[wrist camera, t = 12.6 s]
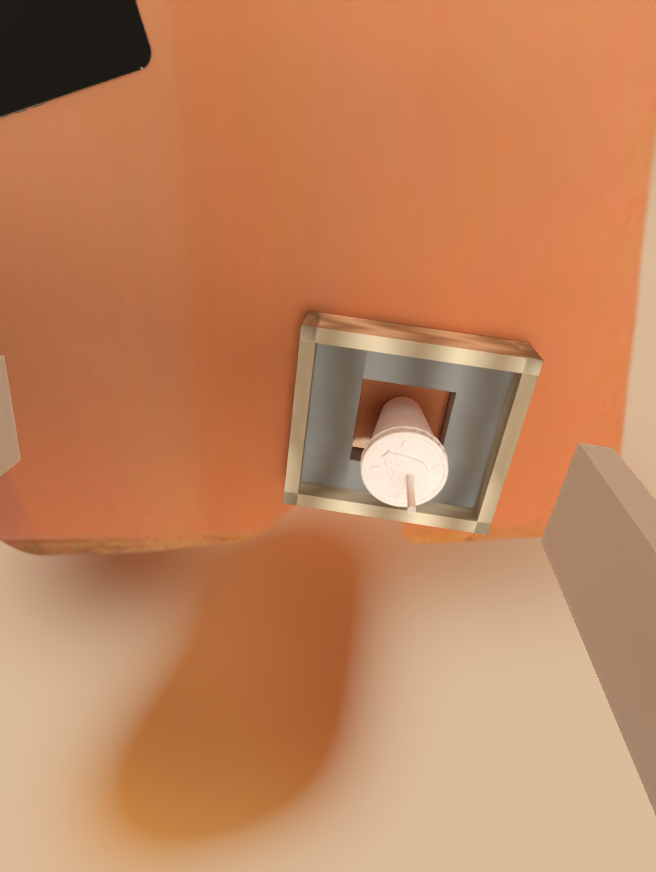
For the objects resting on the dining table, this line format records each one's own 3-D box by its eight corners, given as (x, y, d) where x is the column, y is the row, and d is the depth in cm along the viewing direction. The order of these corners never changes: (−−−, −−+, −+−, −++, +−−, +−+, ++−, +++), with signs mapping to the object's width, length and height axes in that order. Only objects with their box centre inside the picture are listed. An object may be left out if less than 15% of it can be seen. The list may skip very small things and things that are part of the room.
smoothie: (399, 460, 49) (403, 560, 37) (349, 414, 48) (336, 502, 35) (453, 417, 47) (477, 507, 35) (403, 366, 45) (409, 442, 33)
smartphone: (155, 65, 37) (-28, 126, 40) (159, 66, 38) (-22, 127, 41) (112, -69, 34) (-83, 7, 37) (117, -65, 35) (-76, 10, 38)
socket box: (291, 476, 51) (283, 503, 47) (308, 310, 44) (301, 325, 40) (479, 506, 51) (487, 535, 47) (528, 342, 44) (543, 360, 40)
